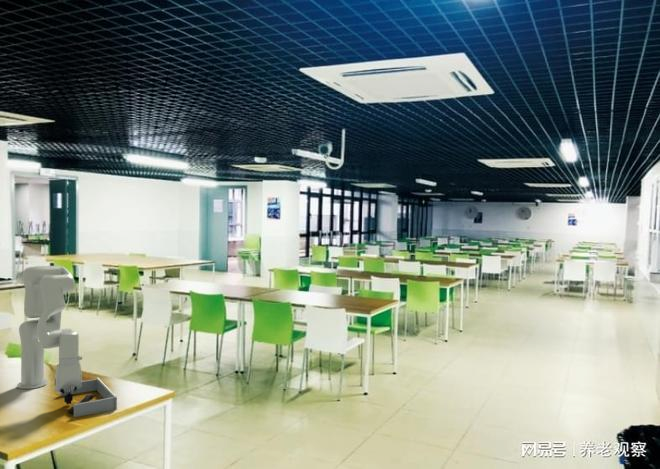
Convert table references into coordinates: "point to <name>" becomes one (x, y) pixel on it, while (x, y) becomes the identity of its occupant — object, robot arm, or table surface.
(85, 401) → the hairbrush
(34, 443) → the table surface
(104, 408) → the box
